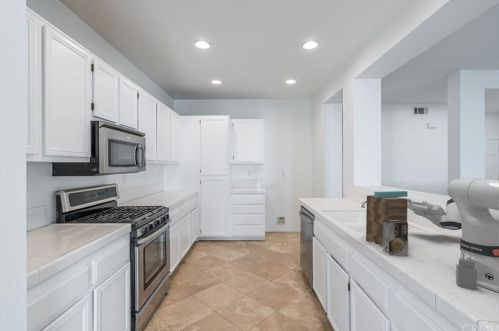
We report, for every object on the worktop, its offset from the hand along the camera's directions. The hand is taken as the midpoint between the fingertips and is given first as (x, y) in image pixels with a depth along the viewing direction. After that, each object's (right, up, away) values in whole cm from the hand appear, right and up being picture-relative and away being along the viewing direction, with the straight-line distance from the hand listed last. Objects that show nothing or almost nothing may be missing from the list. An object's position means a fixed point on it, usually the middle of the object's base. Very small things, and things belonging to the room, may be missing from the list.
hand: (415, 201), depth 144 cm
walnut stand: (-22, -23, -7) cm, 32 cm away
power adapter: (-19, -23, -55) cm, 62 cm away
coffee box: (-25, -23, -22) cm, 41 cm away
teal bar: (-18, +3, -6) cm, 20 cm away
